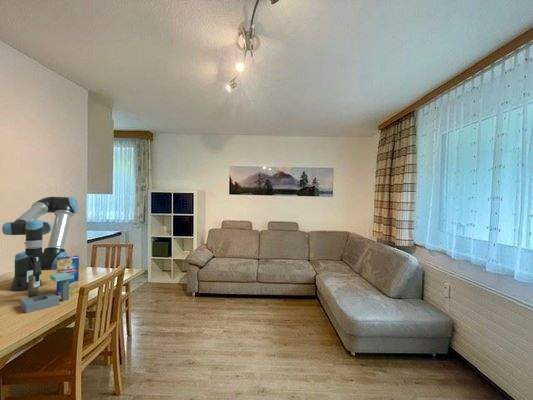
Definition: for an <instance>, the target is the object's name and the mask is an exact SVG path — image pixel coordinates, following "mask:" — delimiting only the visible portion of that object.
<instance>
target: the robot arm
mask: <svg viewBox="0 0 533 400" xmlns="http://www.w3.org/2000/svg"><path fill="white" fill-rule="evenodd" d="M78 210H79V205H78V200H77V198H75V197H73V196H72V197H70V196H48V197H47V196H46V197H43V198H40V199H39V200H37V201H35V202H34V203H32V204H31V206H30V208H29V209H28V210H27V211H25V212H23V214H21V215H20V216H19V217H18V218H16V220H14V221H9V222H8V221H7V222H5V223H3V225H2V228H1V230H2V234H3V235H4V236H25V242H24V243H23V244H24V245H25V249H24V250H25V251H21V252H19V253H16V254H15V256H14V278H13V280H12V282H11V284H10V291H14V292H23V291H28V276H30V275H33V276H34V281H33V287H38V288H39V287H41V286H42V285H43V283H42V279H41V275H42V271H55V270H56V271H57V257H67V256H69V255H68V252H67V251H66V249H65V248H64V247H65V243H66V239H67V234H68V233H67V232H68V229H69V225H70V221H71V218H72V217H74V214H77V213H78ZM47 213H50V214H51V213H53V214H54V215H55V218H54V222H53V225H52V223H50V222H48V221H43V220H41V219H40V220H39V218H40V217H41V216H43V215H45V214H47ZM49 233H50V236H49V241H48V245H47V247H45V248H44V250H43V246H44V245H43V243H44V242H43V239H44V238H43V235H47V234H49Z"/></svg>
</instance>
